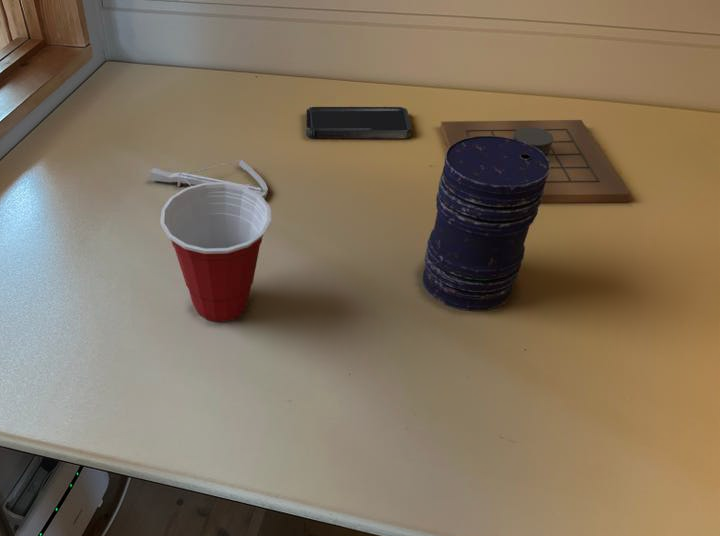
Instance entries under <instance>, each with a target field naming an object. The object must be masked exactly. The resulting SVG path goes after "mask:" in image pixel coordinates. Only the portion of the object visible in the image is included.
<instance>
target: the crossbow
mask: <svg viewBox="0 0 720 536" xmlns="http://www.w3.org/2000/svg"><path fill="white" fill-rule="evenodd" d="M238 162H239V167H240V168H242V169H243V170H244V171H245V172H247V174H249V175H251V177H252V178H253V179H255V181H256V182H257V184H258V185H259V186H260V187H258V186H252V185H251V184H249V183H247V184H242V183H238V182H232V181H228V180H222V179H216V178H212V177H207V176H203V175H199V174H192V173H196V172H201V171H205V170H208V169H209V170H210V169H213V168H217V167H222V166H226V165H230V164H234V163H238ZM149 176H150V178H149V179H150V181H155V182H163V183H176V182H177V188H180V187H181V185H182V184H183V186H185V185H186V184H188V185H189V187H192V186H195V185H199V184H203V183H216V182H227V183H232V184H236V185H241V186H245V187H247V188H249V189H251V190H253V191H255V192H256V193H258V194H260V195H261V196H262V197H263V198H264V200H265V201H266V198H267V196H268V195H269V194H268V193H269V188H268V185H267V183H266V181H264V179H263V177H261V176H260V174H259V173H258V172H256V171H255V170H254V168H252V167H251V166H250V165H248V164H247V163H246V162H245V161H244V160H242V159H239V160H236V161H231V162H228V163H227V162H226V163H223V164H218V165H215V166H211V167H210V166H209V167H205V168H201V169H198V170H194V171H189V172H187V171H184V172H181V171H179V172H170V171H166V170H162V169H159V168H155V167H152V168H151V170H149Z"/></svg>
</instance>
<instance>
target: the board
mask: <svg viewBox="0 0 720 536" xmlns="http://www.w3.org/2000/svg"><path fill="white" fill-rule="evenodd" d="M525 127H534V128H540V129H543V130H546V131H548V132H549V133H551V134H552V135H553V138H554V139H553V143H552V146H551V149H550V153H549V156H548V160H549V162H550V170H549V173H548V176H547V179H546V182H545V186H544V192H543V196H542V200H541V203H540V204H552V203H553V204H556V203H557V204H559V203H560V204H561V203H562V204H563V203H566V204H568V203H569V204H570V203H575V204H576V203H577V204H578V203H579V204H580V203H629V200H630V198H631V195H632V193H631V191H630V190H629V189H628V187H627V186H626V184H625V183H624V181H623V180H622V179H621V177H620V175H619V174H618V172H617V171H616V169H615V168H614V166H613V165H612V163H611V161H609V159H608V157H607V155H605V153H604V152H603V149H602V148H601V147H600V145H599V144H598V142H597V141H596V140H595V138H594V136H593V135H592V133H591V132H590V130H589V129H588V127H587V126H586V125H585V123H584V122H583V120H582V119H543V120H541V119H539V120H537V119H535V120H534V119H533V120H466V121H464V120H463V121H459V120H457V121H456V120H454V121H450V120H449V121H441V122H440V127H439V130H440V133H441V135H442V138H443V142H444V144H445V147H446V151H447V150H448V149H449V147H450V146H452V145H453V144H454V143H456V142H458V141H460V140H463V139H466V138H470V137H477V136H499V137H506V138H511V139H513V135H514V132H515V131H516V130H518V129H520V128H525Z"/></svg>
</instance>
